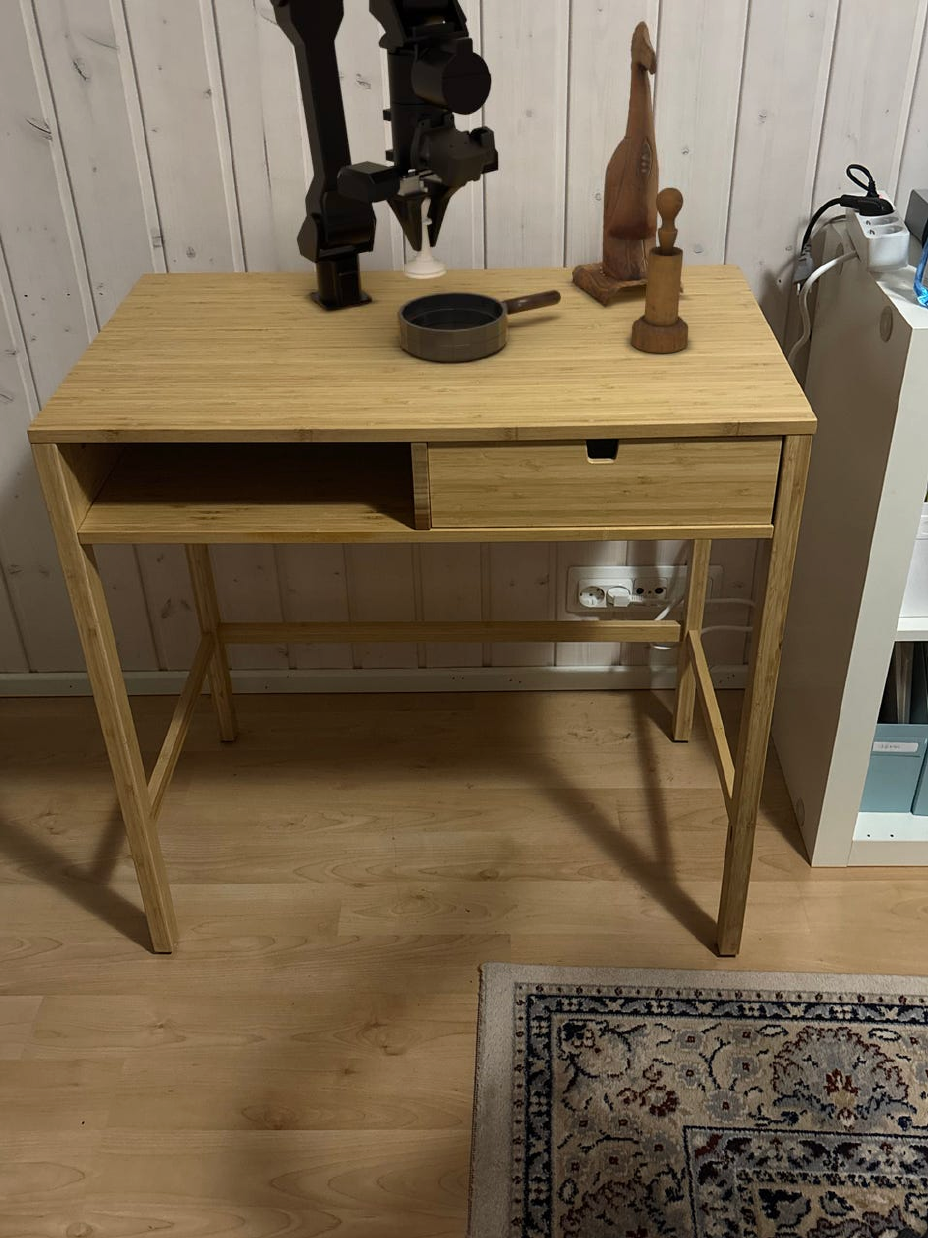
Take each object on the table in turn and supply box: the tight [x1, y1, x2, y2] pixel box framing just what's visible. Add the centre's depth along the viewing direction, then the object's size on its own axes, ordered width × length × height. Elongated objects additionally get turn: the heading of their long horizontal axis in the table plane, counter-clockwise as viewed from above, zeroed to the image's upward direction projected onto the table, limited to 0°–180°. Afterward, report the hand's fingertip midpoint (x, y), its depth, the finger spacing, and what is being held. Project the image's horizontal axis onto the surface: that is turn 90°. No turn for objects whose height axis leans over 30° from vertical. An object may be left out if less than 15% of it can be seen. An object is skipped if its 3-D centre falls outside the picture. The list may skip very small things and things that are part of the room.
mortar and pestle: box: [630, 187, 689, 354], centre depth 136 cm, size 7×6×18 cm
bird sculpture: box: [571, 20, 684, 305], centre depth 147 cm, size 11×12×32 cm
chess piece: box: [402, 180, 448, 280], centre depth 131 cm, size 5×5×10 cm
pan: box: [397, 291, 509, 363], centre depth 141 cm, size 13×13×4 cm
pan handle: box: [494, 289, 562, 316], centre depth 145 cm, size 9×2×2 cm, turn 118°
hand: (424, 248), depth 132 cm, fingers closed on chess piece
